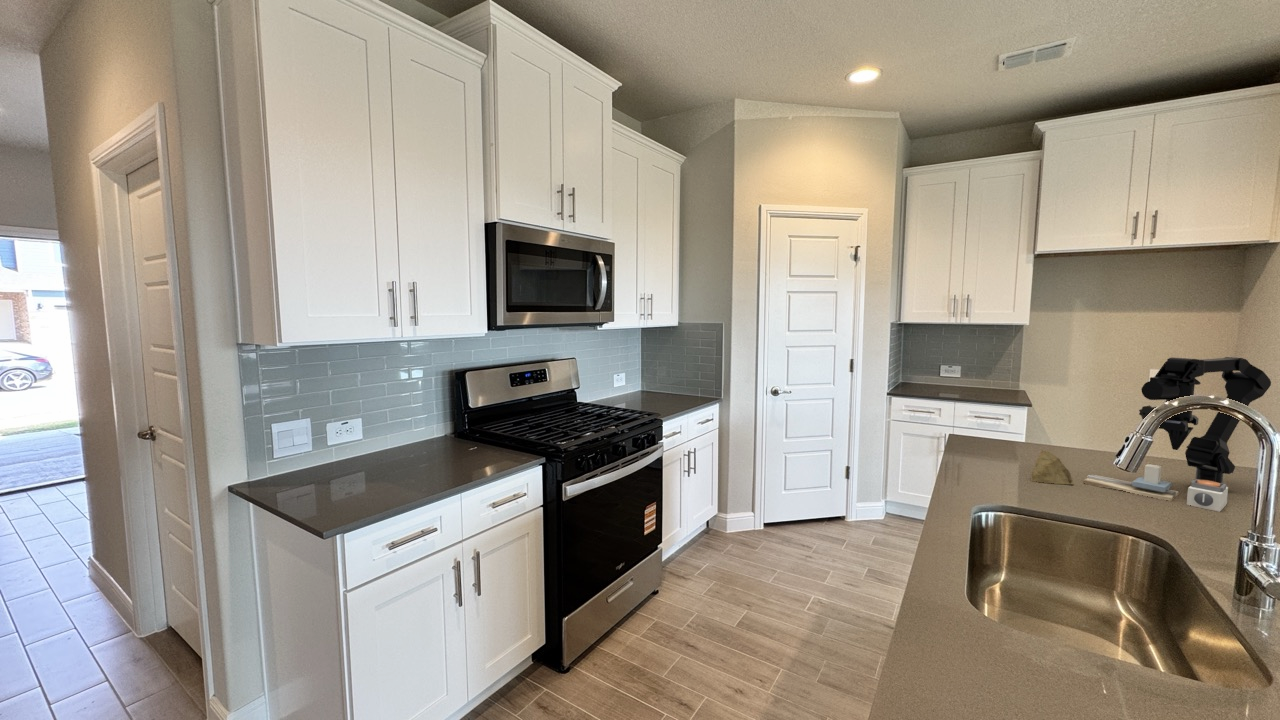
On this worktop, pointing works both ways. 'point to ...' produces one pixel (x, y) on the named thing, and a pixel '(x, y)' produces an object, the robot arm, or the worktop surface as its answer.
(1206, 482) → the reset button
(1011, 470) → the worktop surface
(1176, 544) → the worktop surface
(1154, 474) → the carriage
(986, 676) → the worktop surface
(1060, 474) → the rock
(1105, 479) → the rail
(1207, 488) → the gauge cabinet
